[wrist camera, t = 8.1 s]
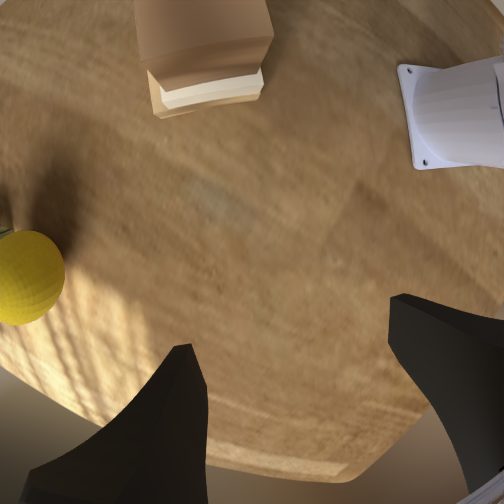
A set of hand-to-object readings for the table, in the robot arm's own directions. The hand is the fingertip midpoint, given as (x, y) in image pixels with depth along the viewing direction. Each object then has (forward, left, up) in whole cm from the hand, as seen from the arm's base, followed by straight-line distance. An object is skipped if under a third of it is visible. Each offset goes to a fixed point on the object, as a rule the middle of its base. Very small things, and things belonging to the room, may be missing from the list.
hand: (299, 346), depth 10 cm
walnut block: (+1, -13, -6) cm, 14 cm away
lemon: (+15, -3, -11) cm, 19 cm away
